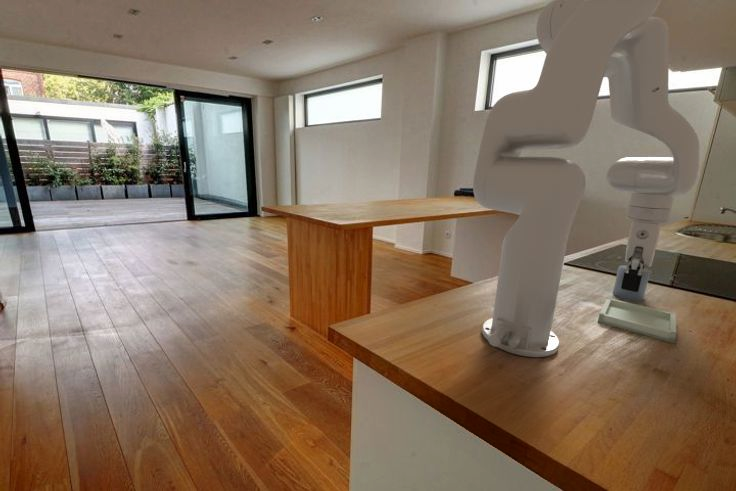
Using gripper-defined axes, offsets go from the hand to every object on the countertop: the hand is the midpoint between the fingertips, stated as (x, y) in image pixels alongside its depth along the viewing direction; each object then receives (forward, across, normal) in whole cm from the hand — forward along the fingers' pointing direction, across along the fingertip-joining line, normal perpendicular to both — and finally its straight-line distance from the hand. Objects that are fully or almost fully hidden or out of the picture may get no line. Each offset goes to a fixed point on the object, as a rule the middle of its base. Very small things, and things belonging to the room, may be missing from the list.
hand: (631, 284), depth 81 cm
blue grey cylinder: (+3, 0, 0) cm, 3 cm away
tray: (+3, -16, -2) cm, 17 cm away
